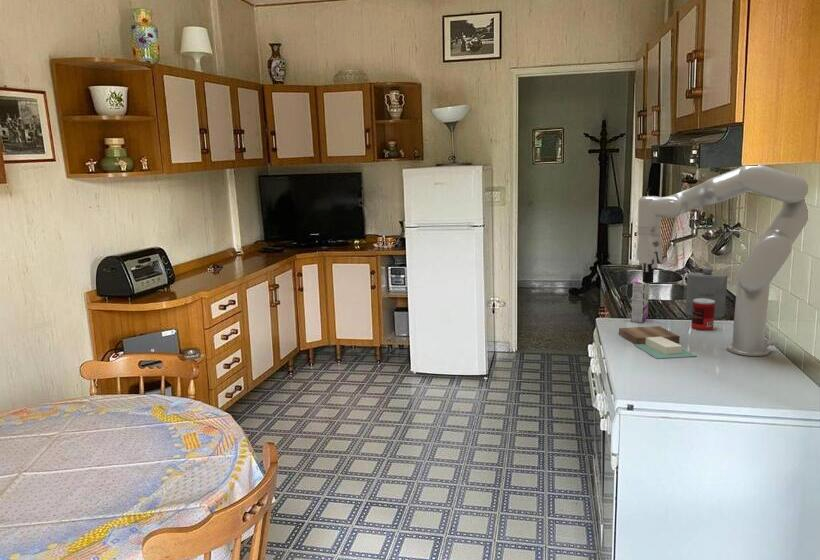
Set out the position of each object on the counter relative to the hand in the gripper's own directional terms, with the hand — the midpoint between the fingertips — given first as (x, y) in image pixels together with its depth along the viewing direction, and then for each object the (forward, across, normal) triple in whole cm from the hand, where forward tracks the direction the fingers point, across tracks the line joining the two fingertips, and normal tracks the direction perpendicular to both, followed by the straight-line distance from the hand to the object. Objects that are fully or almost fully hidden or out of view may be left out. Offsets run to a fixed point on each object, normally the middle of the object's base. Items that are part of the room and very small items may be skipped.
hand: (647, 282), depth 226 cm
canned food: (+22, +11, -28) cm, 37 cm away
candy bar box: (+21, +28, -11) cm, 36 cm away
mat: (+21, -14, +1) cm, 26 cm away
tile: (+21, -13, +1) cm, 24 cm away
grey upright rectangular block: (+22, +29, -40) cm, 54 cm away
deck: (+21, +1, -1) cm, 21 cm away
